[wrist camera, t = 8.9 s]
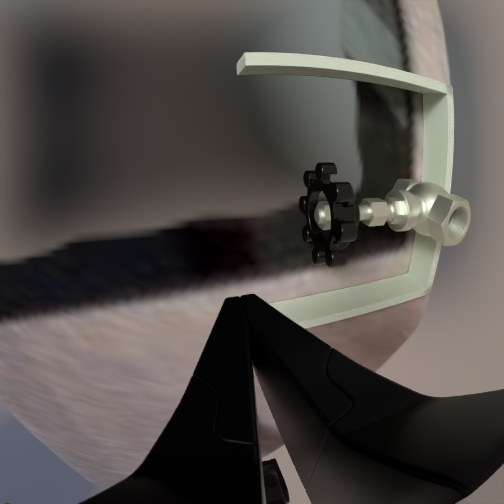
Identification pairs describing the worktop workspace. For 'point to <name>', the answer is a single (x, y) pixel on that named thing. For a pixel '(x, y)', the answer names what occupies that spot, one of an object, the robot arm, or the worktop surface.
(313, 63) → the u-shaped bracket
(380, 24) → the worktop surface
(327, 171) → the valve
